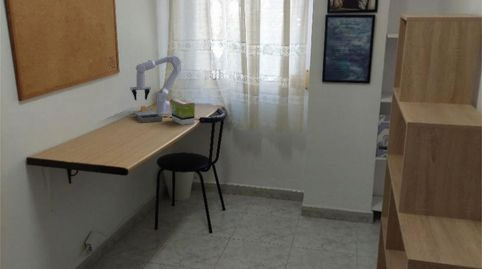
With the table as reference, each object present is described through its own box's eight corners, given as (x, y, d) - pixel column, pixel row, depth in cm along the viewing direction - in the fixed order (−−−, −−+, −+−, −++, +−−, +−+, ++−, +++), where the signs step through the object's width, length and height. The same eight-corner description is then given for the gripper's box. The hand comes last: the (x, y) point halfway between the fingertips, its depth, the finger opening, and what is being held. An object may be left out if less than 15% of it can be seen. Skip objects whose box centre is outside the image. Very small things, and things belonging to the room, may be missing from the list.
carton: (156, 117, 318) (156, 113, 317) (162, 121, 308) (162, 116, 307) (136, 119, 311) (136, 114, 310) (142, 123, 301) (142, 118, 300)
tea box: (171, 120, 311) (171, 99, 307) (183, 118, 317) (183, 98, 313) (182, 125, 299) (182, 103, 295) (195, 123, 305) (195, 102, 301)
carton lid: (152, 110, 324) (152, 105, 323) (158, 114, 314) (158, 108, 313) (133, 112, 317) (133, 106, 316) (138, 116, 307) (138, 110, 306)
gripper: (132, 82, 313) (132, 101, 316) (152, 81, 320) (152, 100, 324) (129, 80, 318) (129, 99, 322) (149, 80, 326) (148, 98, 329)
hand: (140, 99), depth 323 cm, fingers open, 7 cm apart
